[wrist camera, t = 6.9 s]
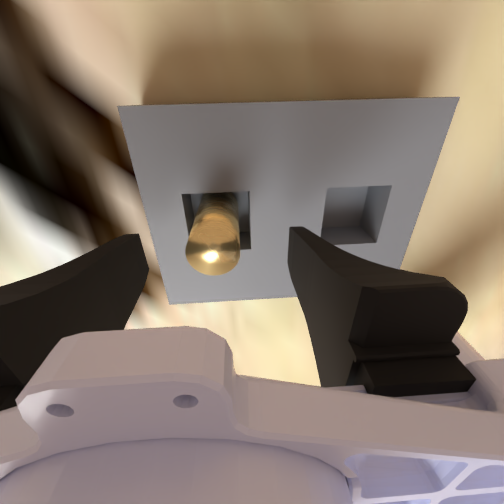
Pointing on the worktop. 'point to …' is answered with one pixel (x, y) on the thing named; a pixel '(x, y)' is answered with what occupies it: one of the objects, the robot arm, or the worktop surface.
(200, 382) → the robot arm
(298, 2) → the worktop surface
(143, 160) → the bore block
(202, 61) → the worktop surface
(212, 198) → the brass pin
